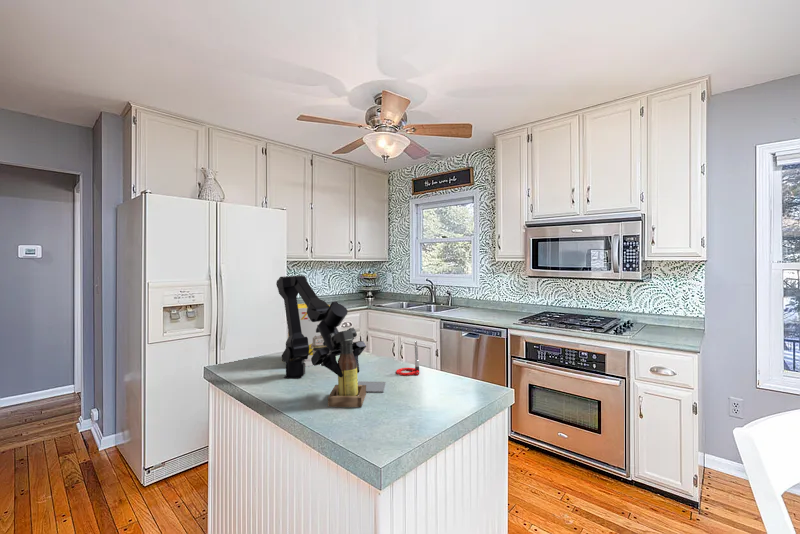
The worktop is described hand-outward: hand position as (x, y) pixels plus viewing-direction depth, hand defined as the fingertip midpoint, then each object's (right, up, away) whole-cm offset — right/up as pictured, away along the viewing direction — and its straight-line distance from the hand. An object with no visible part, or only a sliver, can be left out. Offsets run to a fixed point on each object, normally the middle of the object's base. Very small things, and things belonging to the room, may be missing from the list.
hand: (350, 374), depth 119 cm
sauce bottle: (-1, -9, +1) cm, 9 cm away
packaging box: (-24, -8, +48) cm, 54 cm away
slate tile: (+5, -8, +13) cm, 16 cm away
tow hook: (+19, -8, +30) cm, 37 cm away
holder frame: (-1, -9, +1) cm, 9 cm away
